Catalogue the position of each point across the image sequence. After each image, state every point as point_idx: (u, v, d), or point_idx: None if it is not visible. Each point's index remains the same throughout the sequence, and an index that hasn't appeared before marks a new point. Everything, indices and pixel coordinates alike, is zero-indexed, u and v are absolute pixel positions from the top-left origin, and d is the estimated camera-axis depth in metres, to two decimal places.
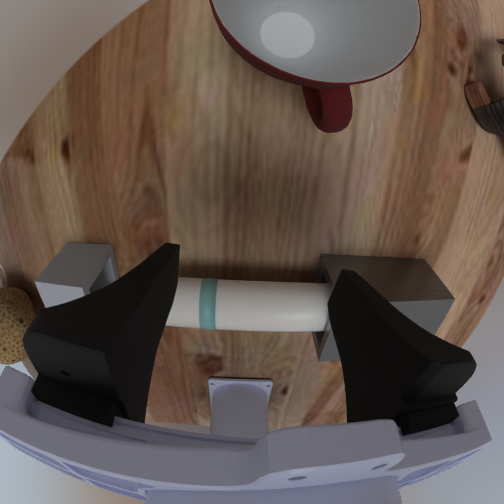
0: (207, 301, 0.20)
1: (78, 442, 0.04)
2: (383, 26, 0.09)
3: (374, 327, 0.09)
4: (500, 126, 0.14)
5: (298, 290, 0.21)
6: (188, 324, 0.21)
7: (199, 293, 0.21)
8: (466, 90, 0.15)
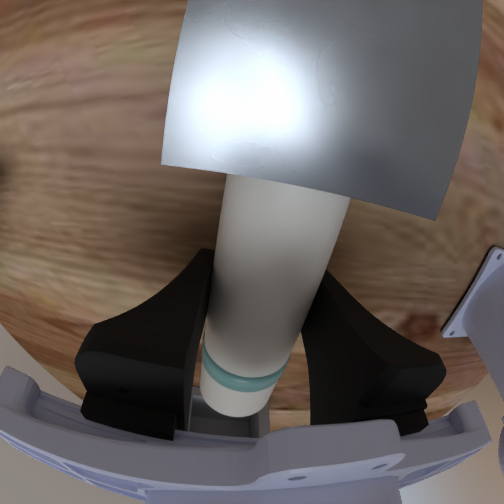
0: (212, 369, 0.12)
1: (78, 442, 0.04)
2: None
3: (335, 325, 0.09)
4: None
5: (221, 215, 0.09)
6: (251, 399, 0.12)
7: (205, 367, 0.12)
8: None
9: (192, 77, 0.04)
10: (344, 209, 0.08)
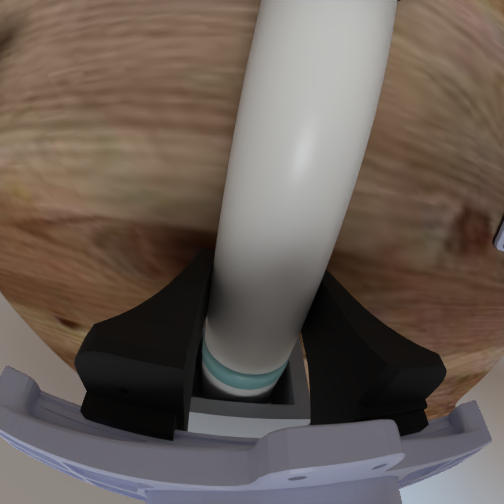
0: (212, 366, 0.12)
1: (78, 442, 0.04)
2: None
3: (335, 325, 0.09)
4: None
5: (222, 208, 0.09)
6: (252, 397, 0.12)
7: (205, 364, 0.12)
8: None
9: None
10: (346, 201, 0.08)
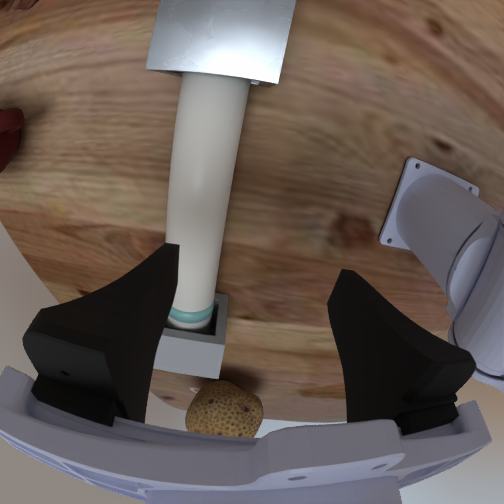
0: None
1: (78, 442, 0.04)
2: None
3: (374, 327, 0.09)
4: None
5: (166, 224, 0.19)
6: (191, 330, 0.22)
7: None
8: (28, 7, 0.10)
9: (159, 36, 0.10)
10: (217, 220, 0.18)
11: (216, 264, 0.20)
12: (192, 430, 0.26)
